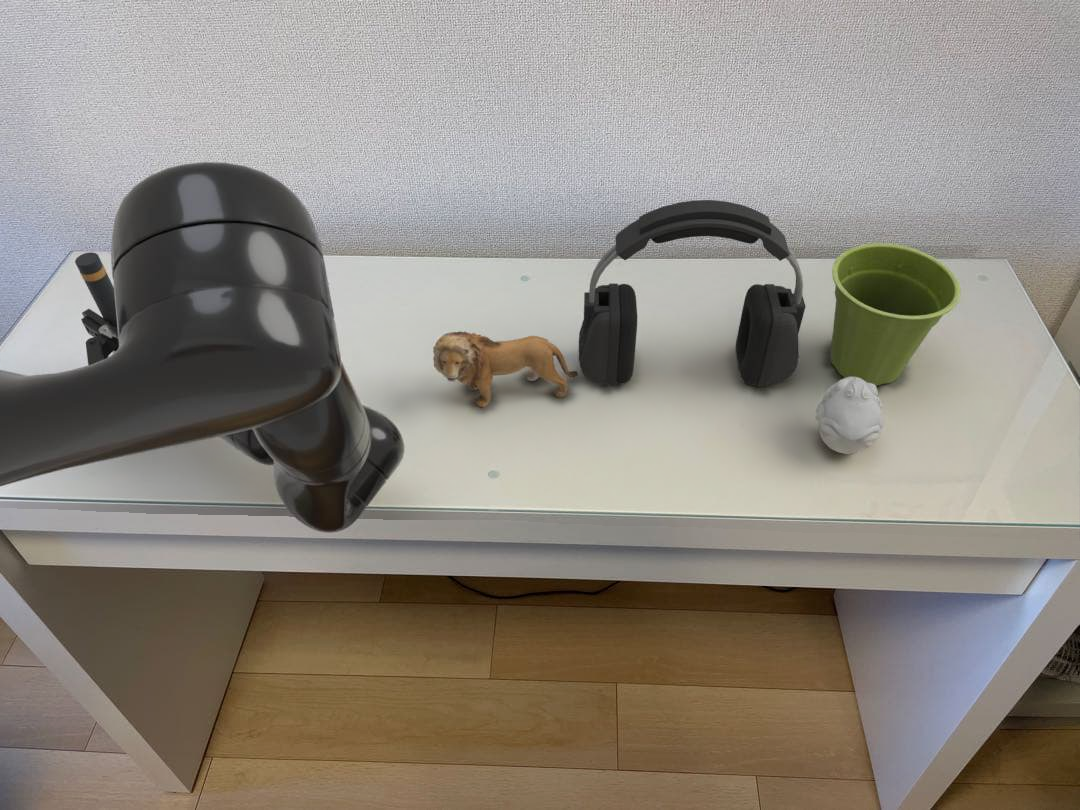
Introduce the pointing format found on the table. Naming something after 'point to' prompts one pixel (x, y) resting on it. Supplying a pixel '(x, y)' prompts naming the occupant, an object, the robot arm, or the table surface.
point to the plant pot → (886, 308)
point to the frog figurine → (850, 415)
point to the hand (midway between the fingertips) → (100, 311)
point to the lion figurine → (497, 361)
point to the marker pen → (98, 285)
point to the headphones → (766, 310)
